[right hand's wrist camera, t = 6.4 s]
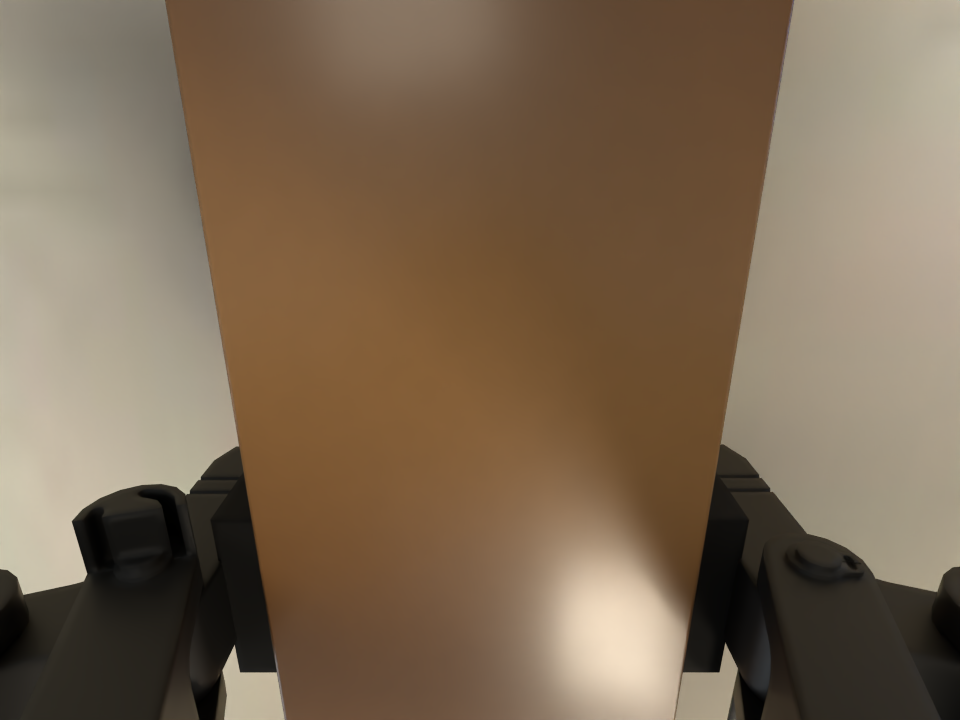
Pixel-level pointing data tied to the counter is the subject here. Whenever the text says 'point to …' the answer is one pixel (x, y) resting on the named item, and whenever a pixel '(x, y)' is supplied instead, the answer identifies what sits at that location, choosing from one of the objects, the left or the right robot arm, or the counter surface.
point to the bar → (479, 331)
